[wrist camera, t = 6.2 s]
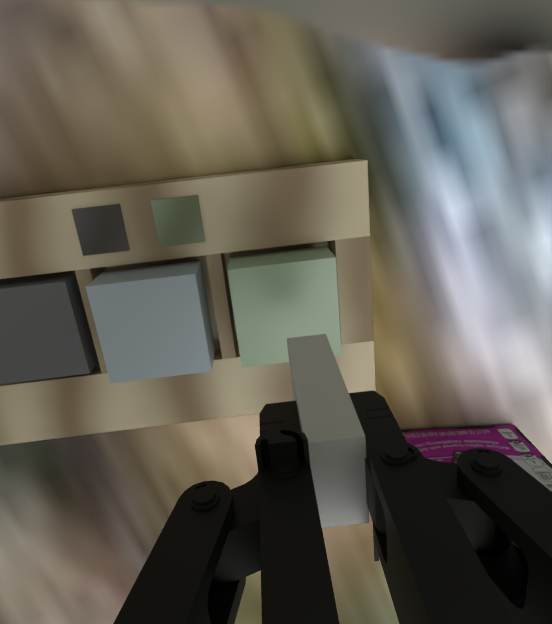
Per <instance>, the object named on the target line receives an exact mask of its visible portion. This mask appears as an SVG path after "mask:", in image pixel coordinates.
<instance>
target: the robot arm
mask: <svg viewBox="0 0 552 624" xmlns="http://www.w3.org/2000/svg"><path fill="white" fill-rule="evenodd" d="M287 346H288V356H289V365H290V375H291V384H292V394H293V401H287V402H279V403H270V404H265V406H264V407H263V409H262V410H261V412H260V437H259V438H258V439H257V440H256V444H255V450H256V457H257V464H258V473H257V475H256V476H255V477H254V478H253V479H252V480H250V481H249V482H247V483H246V484H244V485H241V486H239V487H237V488H234V489H231V490H230V488H229V487H228V486H227V485H225V484H224V483H222V482H217V481H204V482H201V483H198V484H195V485H193V486H191V487H190V488H188V489H187V490H185V491H184V493H183V494H182V495H181V496H180V498H179V499H178V501H177V503H176V505H175V507H174V509H173V511H172V513H171V515H170V516H169V518H168V520H167V522H166V524H165V526H164V528H163V530H162V532H161V534H160V536H159V538H158V539H157V541H156V543H155V545H154V547H153V549H152V551H151V553H150V555H149V557H148V559H147V560H146V562H145V564H144V566H143V568H142V570H141V572H140V574H139V576H138V578H137V580H136V582H135V583H134V585H133V587H132V589H131V591H130V593H129V595H128V597H127V599H126V601H125V603H124V604H123V606H122V608H121V610H120V612H119V614H118V616H117V618H116V620H115V622H114V624H234V623H235V619H236V615H237V612H238V608H239V605H240V601H241V597H242V594H243V590H244V586H245V582H246V576H249V575H251V574H253V573H255V572H258V571H260V570H261V597H262V624H339V620H338V614H337V609H336V603H335V598H334V592H333V587H332V581H331V576H330V571H329V565H328V560H327V554H326V549H325V543H324V538H323V532H322V528H327V527H335V526H343V525H352V524H360V523H369V511H370V515H371V518H372V521H373V537H374V559H375V561H379V558H380V561H381V564H382V568H383V571H384V574H385V578H386V581H387V584H388V587H389V591H390V594H391V597H392V601H393V604H394V607H395V611H396V614H397V617H398V620H399V624H552V491H550V490H549V489H548V488H547V487H545V486H544V485H543V484H542V483H540V482H539V481H538V480H537V479H535V478H534V477H533V476H532V475H530V474H529V473H528V472H527V471H525V470H524V469H523V468H522V467H520V466H519V465H518V464H517V463H515V462H514V461H513V460H512V459H510V458H509V457H507V456H506V455H504V454H502V453H500V452H498V451H494V450H491V449H485V448H473V449H468V450H466V451H464V452H462V453H461V454H460V455H459V457H458V458H457V463H451V462H441V461H435V460H431V459H428V458H425V457H424V456H423V454H422V453H421V452H420V450H419V449H418V448H417V447H415V446H413V445H411V444H410V443H407V441H406V439H405V437H404V435H403V433H402V431H401V429H400V427H399V425H398V423H397V422H396V420H395V418H394V417H393V414H392V412H391V410H390V409H389V406H388V404H387V402H386V400H385V398H384V397H382V396H381V395H379V394H378V393H377V392H375V391H374V390H372V391H363V392H355V393H348V390H347V388H346V385H345V382H344V380H343V377H342V375H341V372H340V369H339V367H338V364H337V362H336V359H335V356H334V354H333V351H332V349H331V346H330V344H329V341H328V338H327V336H326V334H319V335H311V336H302V337H293V338H287Z"/></svg>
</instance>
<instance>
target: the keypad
mask: <svg viewBox="0 0 552 624" xmlns="http://www.w3.org/2000/svg"><path fill="white" fill-rule="evenodd" d="M322 246H327V247H328V248H329V250H330V251H331V252H332V253H333V255H334V256H335V257H336V270H337V286H338V303H339V319H340V335H341V352H342V356H335V359H336V362H337V364H338V367H339V369H340V372H341V375H342V377H343V380H344V382H345V385H346V388H347V390H348V393H355V392H363V391H372V390H374V391H375V365H374V336H373V307H372V278H371V249H370V220H369V191H368V162H367V160H360V159H349V160H340V161H331V162H323V163H314V164H305V165H296V166H287V167H278V168H269V169H260V170H252V171H243V172H234V173H225V174H216V175H207V176H198V177H190V178H181V179H172V180H163V181H154V182H145V183H136V184H127V185H119V186H110V187H101V188H92V189H83V190H74V191H65V192H56V193H48V194H39V195H30V196H21V197H12V198H3V199H0V279H5V278H14V277H22V276H31V275H39V274H48V273H57V272H65V271H74V270H75V274H76V277H77V281H78V285H79V289H80V293H81V296H82V300H83V304H84V308H85V312H86V315H87V319H88V323H89V327H90V331H91V334H92V338H93V342H94V346H95V350H96V353H97V357H98V362H97V364H96V365H95V367H94V368H93V370H92V371H91V373H89V374H81V375H72V376H64V377H56V378H48V379H39V380H31V381H23V382H15V383H6V384H0V445H7V444H16V443H24V442H32V441H40V440H48V439H56V438H64V437H72V436H80V435H88V434H96V433H104V432H112V431H120V430H128V429H136V428H144V427H153V426H161V425H169V424H177V423H185V422H193V421H201V420H209V419H217V418H225V417H233V416H241V415H249V414H257V413H260V412H261V410H262V409H263V407H264V406H265V404H270V403H279V402H287V401H293V394H292V384H291V375H290V365H289V362H284V363H276V364H268V365H260V366H251V367H243V368H242V367H241V360H240V353H239V346H238V339H237V332H236V325H235V319H234V312H233V305H232V298H231V291H230V284H229V277H228V263H229V257H236V256H245V255H253V254H262V253H271V252H279V251H288V250H296V249H305V248H313V247H322ZM193 261H201V267H202V273H203V279H204V285H205V291H206V297H207V303H208V309H209V315H210V321H211V327H212V333H213V339H214V345H215V354H214V360H213V367H212V371H210V372H202V373H194V374H186V375H178V376H169V377H161V378H153V379H145V380H136V381H128V382H120V383H112V384H110V380H109V376H108V372H107V368H106V364H105V360H104V357H103V353H102V349H101V345H100V341H99V337H98V333H97V329H96V326H95V322H94V318H93V314H92V310H91V306H90V302H89V298H88V295H87V291H86V286H87V285H88V284H89V283H90V282H91V281H93V280H94V279H95V278H96V277H97V276H98V275H100V274H101V273H102V272H108V271H116V270H125V269H133V268H142V267H151V266H159V265H168V264H176V263H185V262H193Z"/></svg>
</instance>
